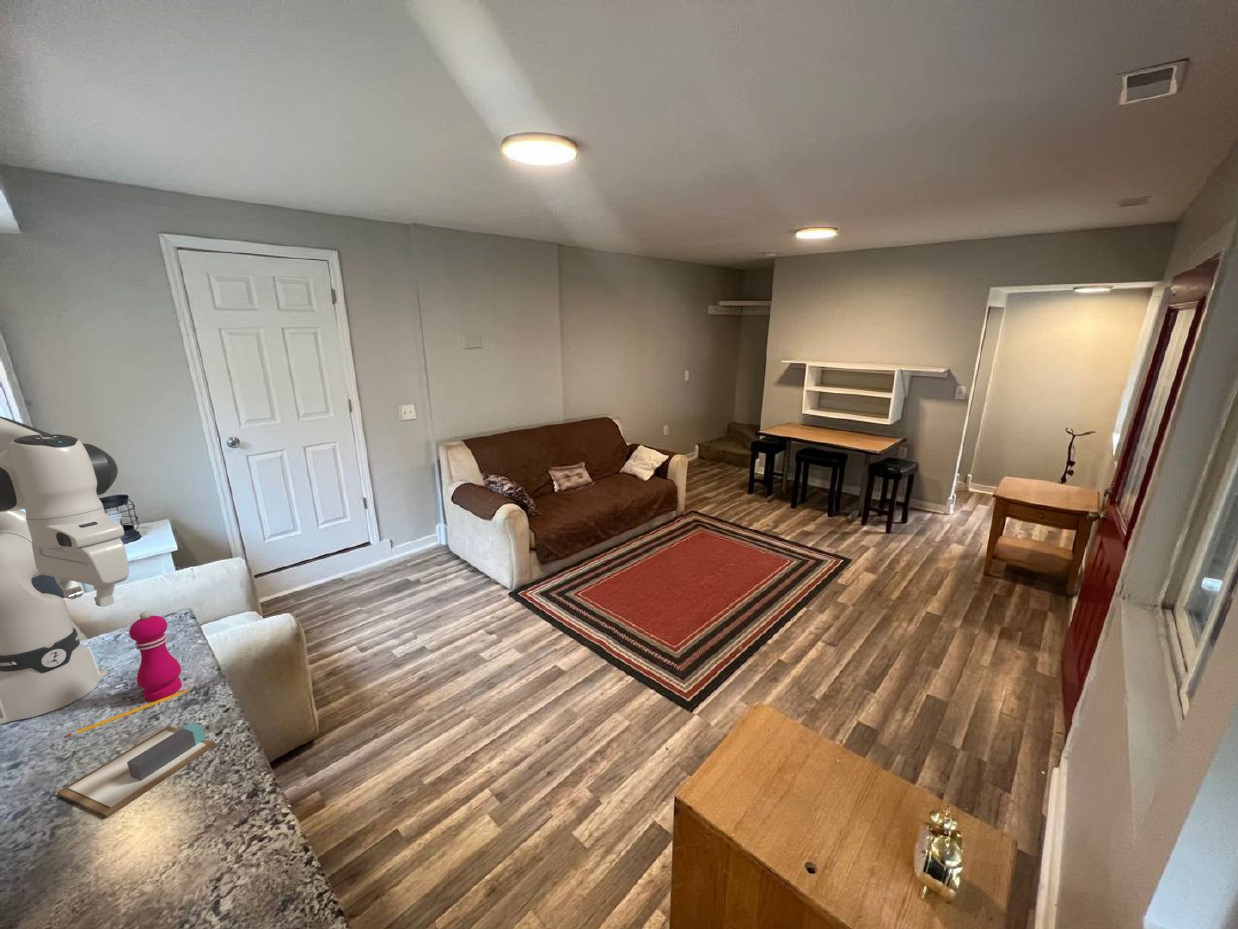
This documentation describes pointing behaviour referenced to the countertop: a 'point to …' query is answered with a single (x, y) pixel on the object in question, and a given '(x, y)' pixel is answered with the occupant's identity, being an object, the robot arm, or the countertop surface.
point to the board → (125, 777)
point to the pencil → (126, 713)
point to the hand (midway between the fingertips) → (89, 601)
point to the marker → (165, 751)
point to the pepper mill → (155, 658)
